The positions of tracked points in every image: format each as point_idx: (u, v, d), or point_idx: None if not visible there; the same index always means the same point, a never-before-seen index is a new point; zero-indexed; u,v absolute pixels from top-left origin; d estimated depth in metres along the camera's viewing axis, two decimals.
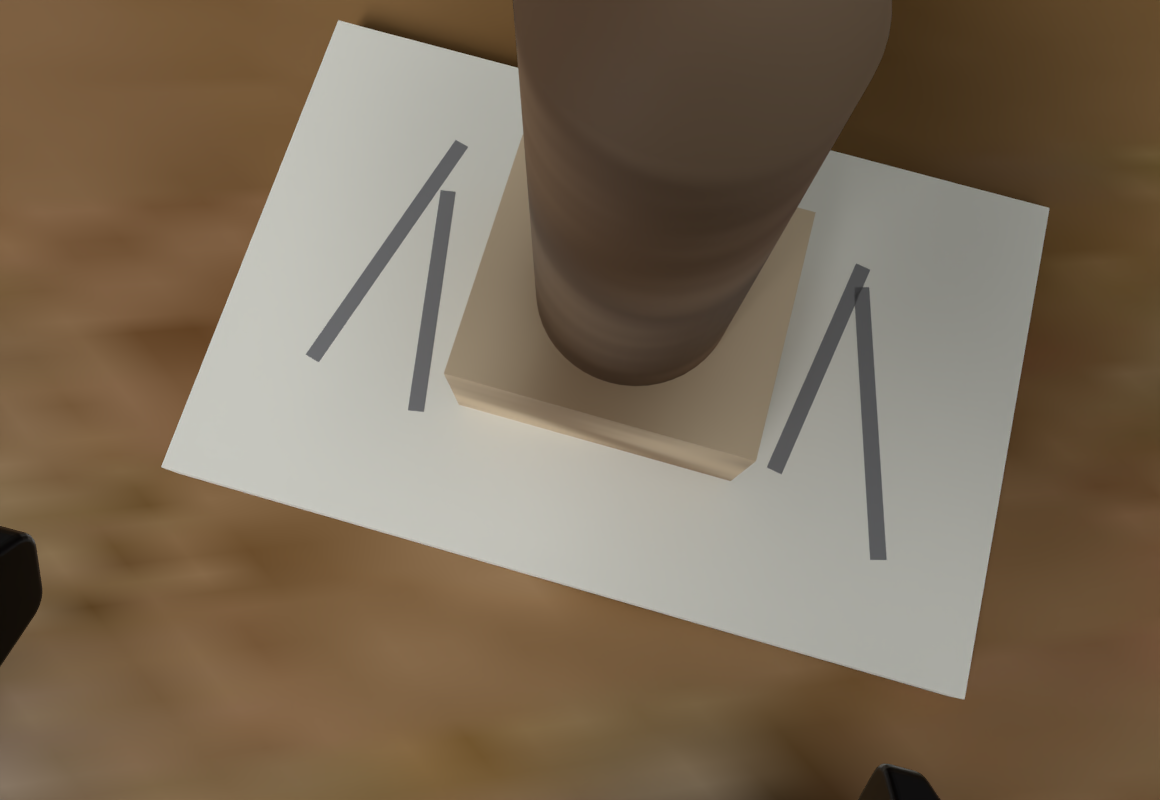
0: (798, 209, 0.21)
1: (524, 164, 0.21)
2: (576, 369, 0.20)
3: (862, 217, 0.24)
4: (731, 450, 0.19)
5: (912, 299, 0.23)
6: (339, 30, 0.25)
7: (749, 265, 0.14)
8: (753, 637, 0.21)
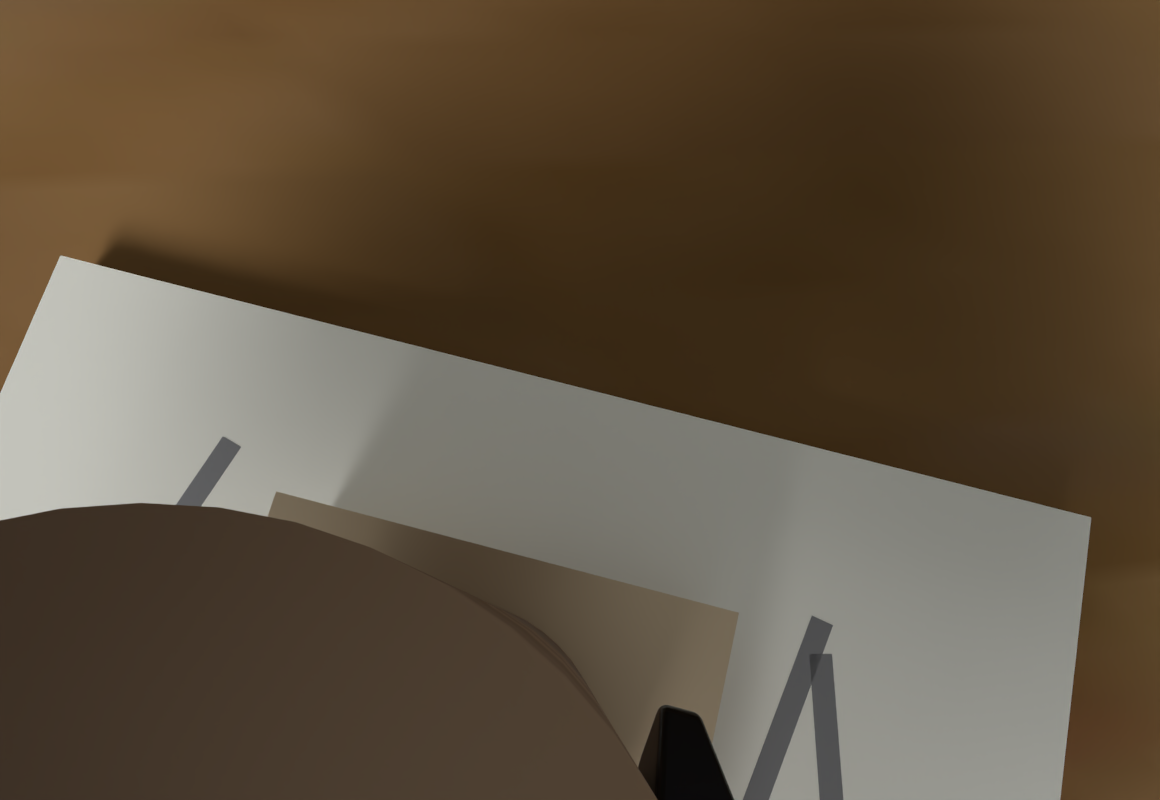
0: (711, 608, 0.13)
1: None
2: None
3: (819, 542, 0.16)
4: None
5: (896, 672, 0.16)
6: (60, 271, 0.17)
7: None
8: None
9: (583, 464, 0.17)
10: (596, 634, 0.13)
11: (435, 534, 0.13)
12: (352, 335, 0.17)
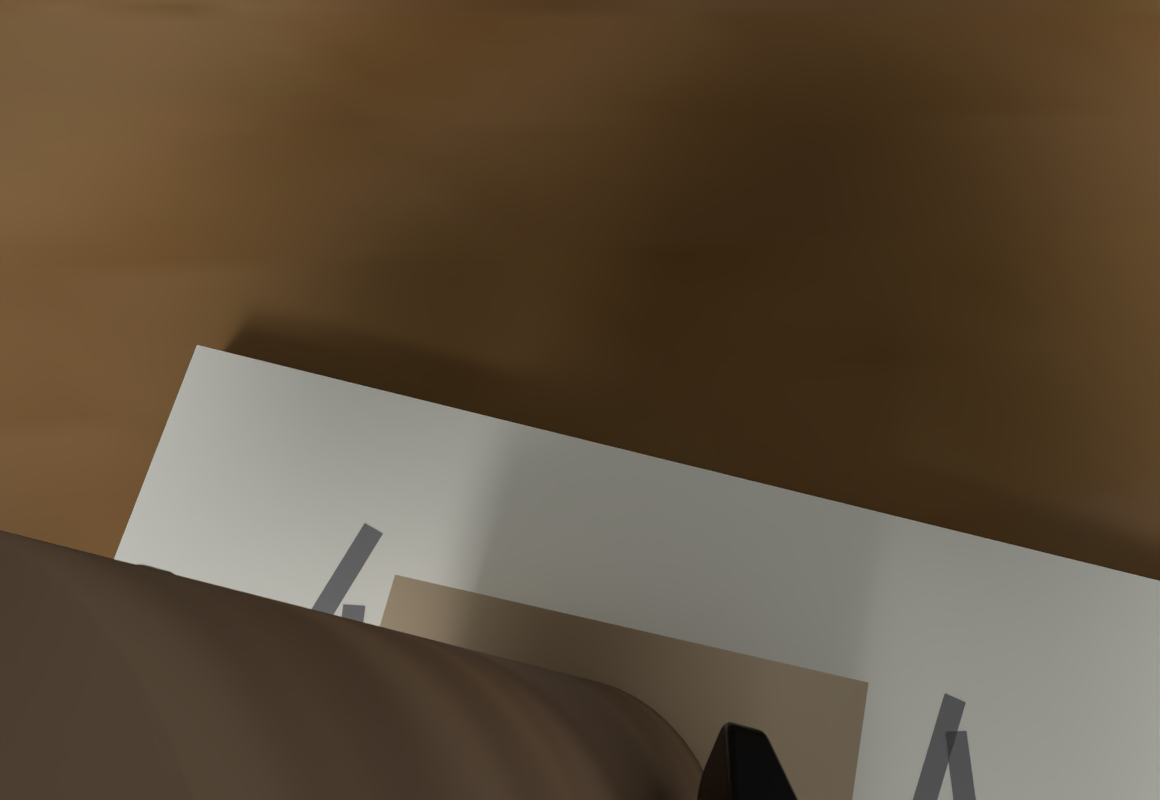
0: (836, 678, 0.12)
1: (395, 626, 0.14)
2: None
3: (947, 620, 0.17)
4: None
5: (1029, 748, 0.16)
6: (198, 360, 0.18)
7: None
8: None
9: (716, 546, 0.17)
10: (709, 711, 0.12)
11: (540, 609, 0.13)
12: (485, 421, 0.18)
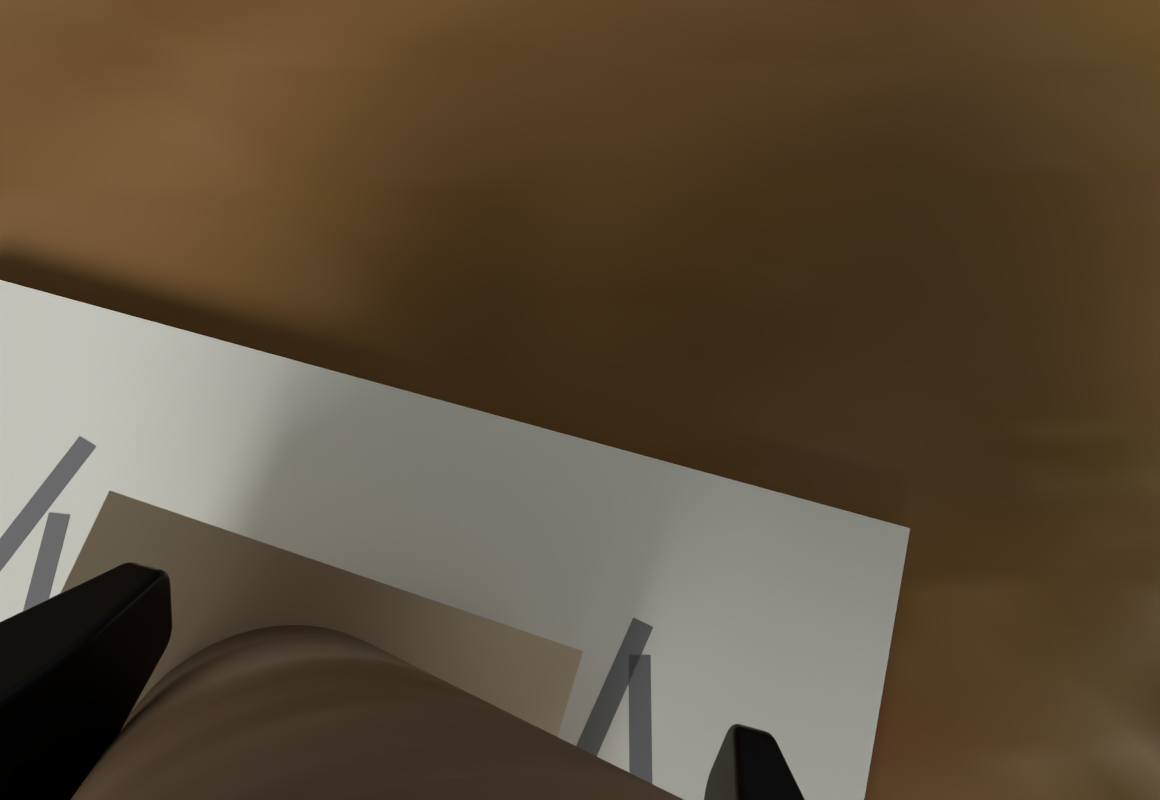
0: (559, 646, 0.14)
1: (104, 551, 0.12)
2: None
3: (645, 547, 0.17)
4: None
5: (712, 673, 0.16)
6: None
7: None
8: None
9: (422, 468, 0.17)
10: (447, 666, 0.13)
11: (291, 553, 0.12)
12: (210, 342, 0.18)
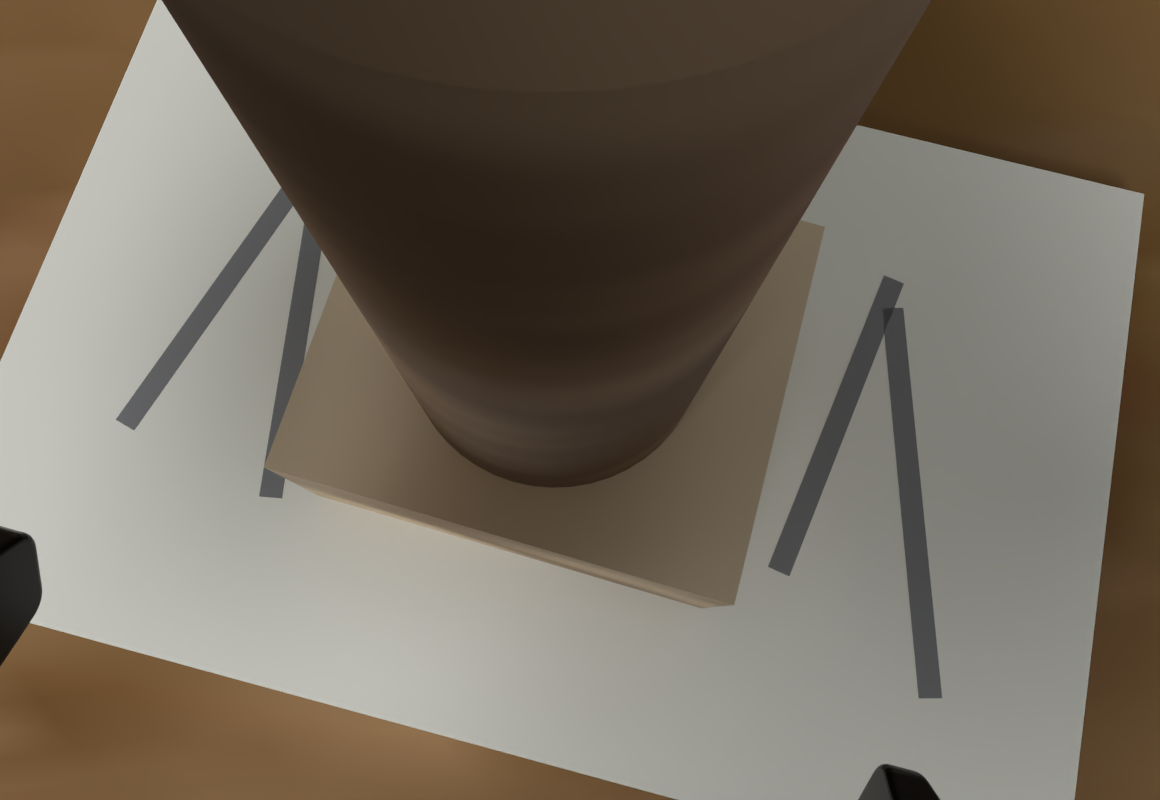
0: (799, 222, 0.14)
1: None
2: (464, 461, 0.13)
3: (890, 213, 0.17)
4: (696, 588, 0.13)
5: (963, 324, 0.17)
6: None
7: (708, 331, 0.07)
8: None
9: None
10: None
11: None
12: None
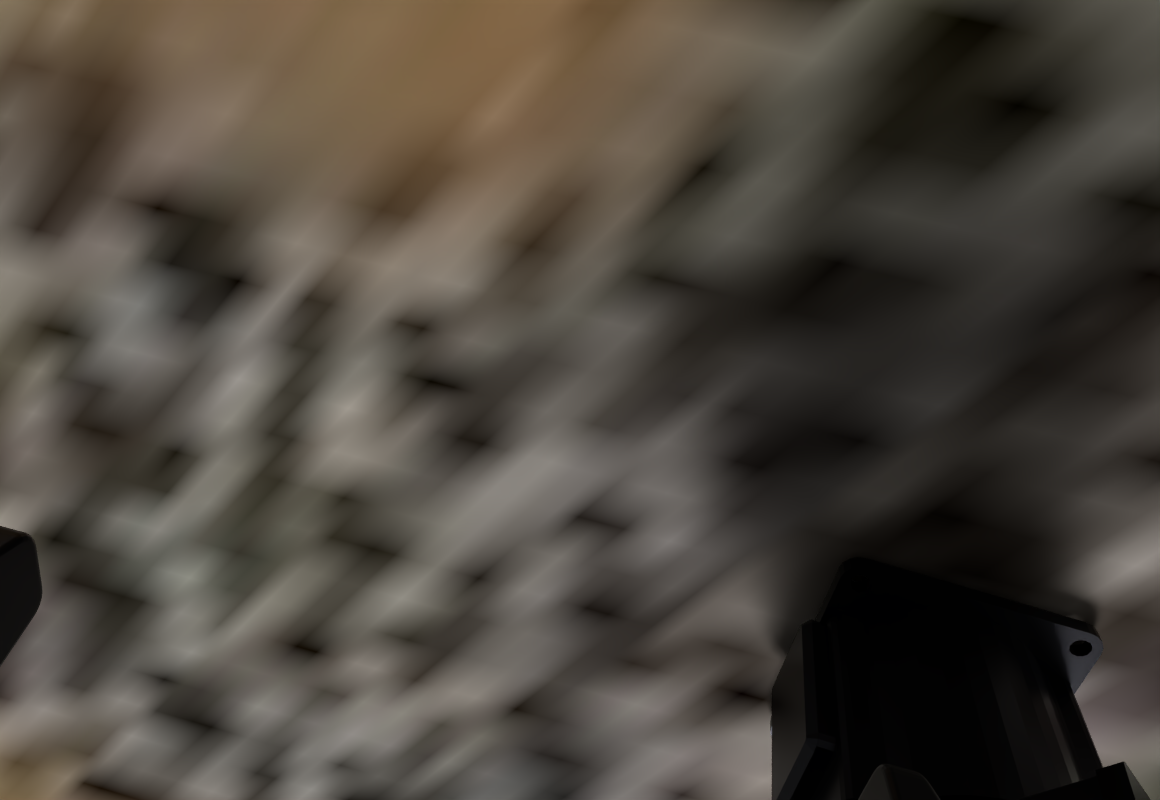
0: None
1: None
2: None
3: None
4: None
5: None
6: None
7: None
8: None
9: None
10: None
11: None
12: None
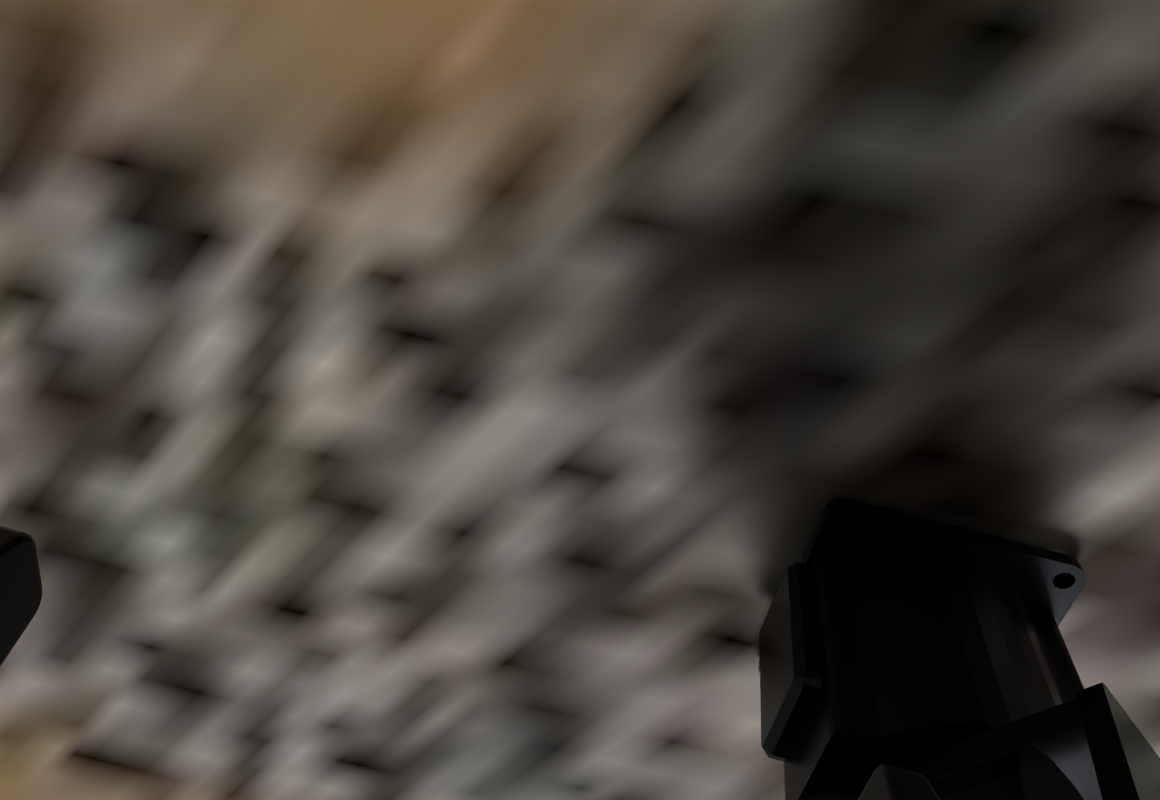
0: None
1: None
2: None
3: None
4: None
5: None
6: None
7: None
8: None
9: None
10: None
11: None
12: None
